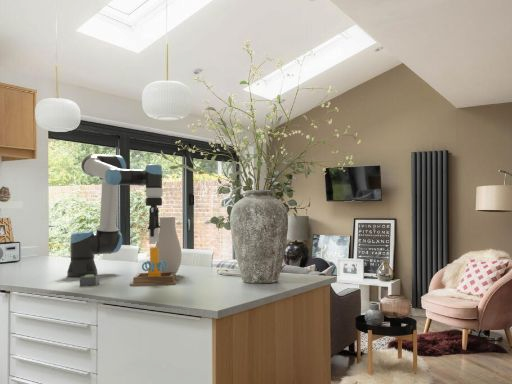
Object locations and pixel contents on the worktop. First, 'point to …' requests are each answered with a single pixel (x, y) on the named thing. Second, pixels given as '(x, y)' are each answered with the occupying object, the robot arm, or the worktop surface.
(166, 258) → the vase
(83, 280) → the switch box
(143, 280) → the brown wooden tray
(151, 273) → the orange block with rings
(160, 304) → the worktop surface
